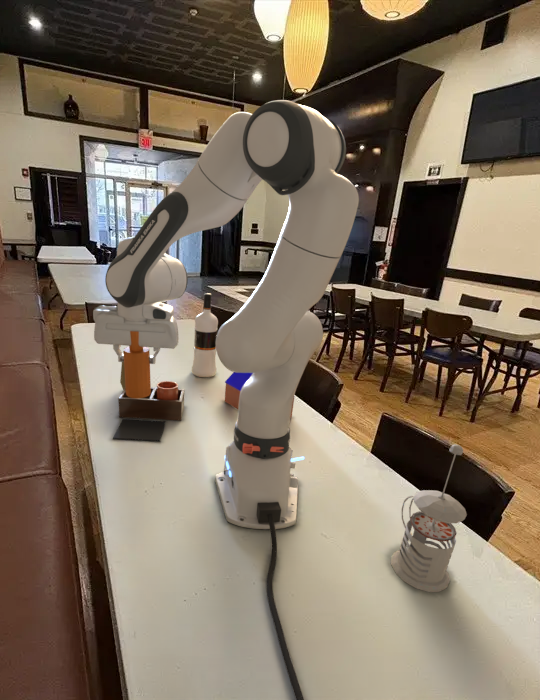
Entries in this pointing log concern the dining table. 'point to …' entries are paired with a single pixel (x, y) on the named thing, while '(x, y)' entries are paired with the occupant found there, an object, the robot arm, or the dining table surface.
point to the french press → (430, 522)
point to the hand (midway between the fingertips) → (137, 362)
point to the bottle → (137, 368)
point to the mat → (139, 430)
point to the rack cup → (167, 390)
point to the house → (237, 388)
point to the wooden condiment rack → (151, 406)
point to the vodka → (205, 341)
